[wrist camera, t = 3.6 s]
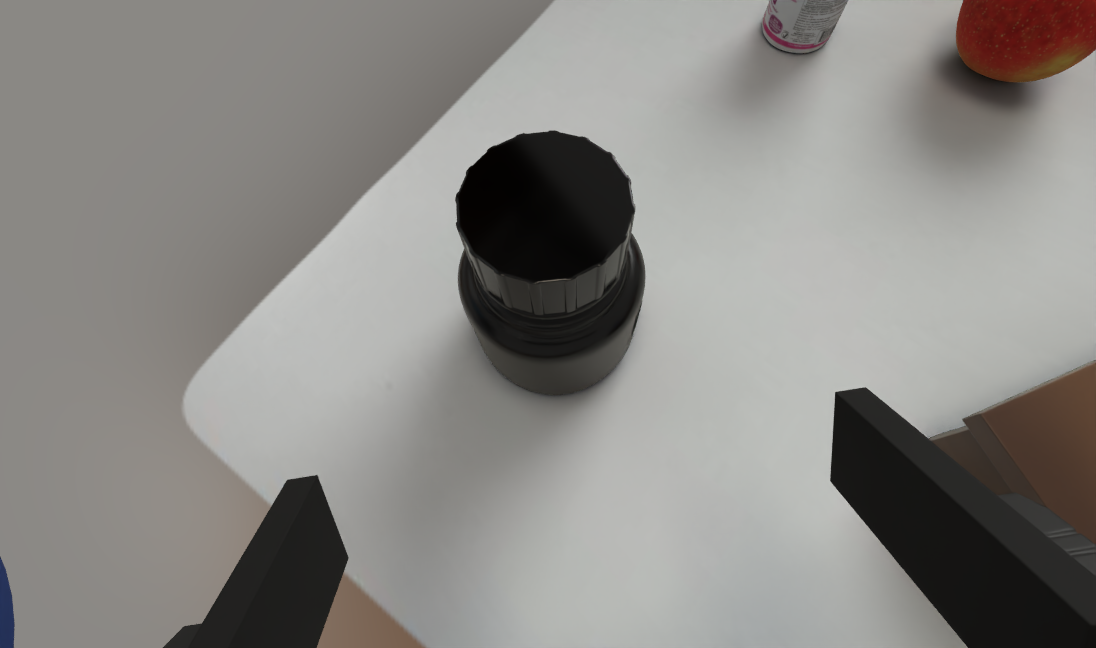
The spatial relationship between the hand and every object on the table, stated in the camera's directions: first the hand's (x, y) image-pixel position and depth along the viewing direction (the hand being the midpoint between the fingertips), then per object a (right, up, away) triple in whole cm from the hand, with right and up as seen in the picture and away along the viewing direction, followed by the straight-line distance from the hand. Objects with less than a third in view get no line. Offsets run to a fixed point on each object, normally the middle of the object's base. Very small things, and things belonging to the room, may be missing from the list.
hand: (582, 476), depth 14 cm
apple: (+29, +21, +23) cm, 43 cm away
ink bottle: (0, +4, +18) cm, 18 cm away
